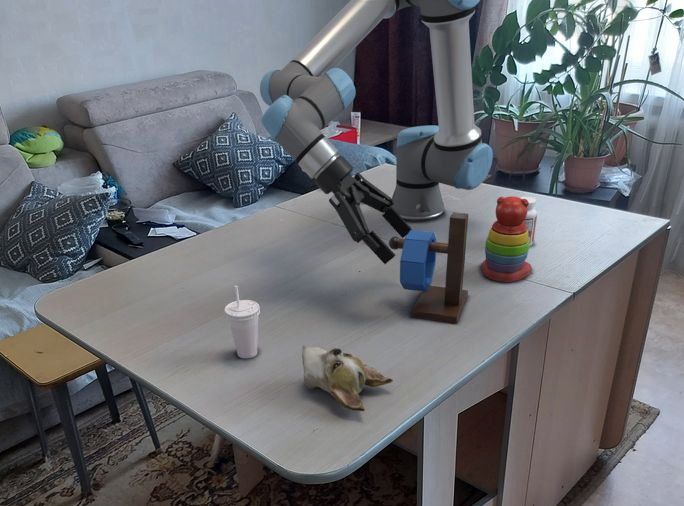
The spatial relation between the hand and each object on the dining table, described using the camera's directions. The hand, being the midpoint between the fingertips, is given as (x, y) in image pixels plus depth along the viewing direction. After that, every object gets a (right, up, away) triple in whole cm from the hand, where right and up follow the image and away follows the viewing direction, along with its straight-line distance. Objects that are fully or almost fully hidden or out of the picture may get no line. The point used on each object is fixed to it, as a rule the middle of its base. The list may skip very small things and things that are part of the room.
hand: (399, 246), depth 130 cm
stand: (+6, -11, +5) cm, 14 cm away
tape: (+4, -8, +3) cm, 9 cm away
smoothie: (-29, -22, -9) cm, 38 cm away
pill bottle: (+33, +6, +30) cm, 45 cm away
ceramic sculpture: (-12, -28, -21) cm, 37 cm away
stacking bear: (+25, -4, +16) cm, 30 cm away
